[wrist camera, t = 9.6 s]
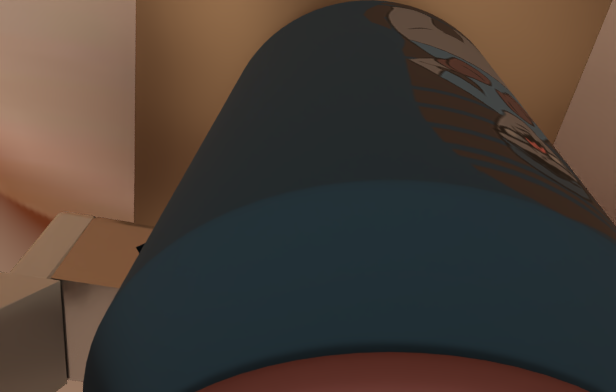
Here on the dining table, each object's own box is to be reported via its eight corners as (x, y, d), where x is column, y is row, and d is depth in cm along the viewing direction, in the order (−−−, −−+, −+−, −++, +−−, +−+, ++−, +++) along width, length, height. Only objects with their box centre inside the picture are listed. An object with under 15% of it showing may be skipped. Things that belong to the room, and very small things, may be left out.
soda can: (250, 234, 17) (100, 762, 7) (220, -2, 14) (-151, 317, 4) (482, 230, 17) (702, 800, 6) (506, -18, 14) (1043, 310, 3)
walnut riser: (570, -96, 18) (647, -86, 13) (459, 224, 24) (487, 303, 19) (187, -167, 17) (137, -180, 13) (171, 178, 23) (133, 249, 19)
